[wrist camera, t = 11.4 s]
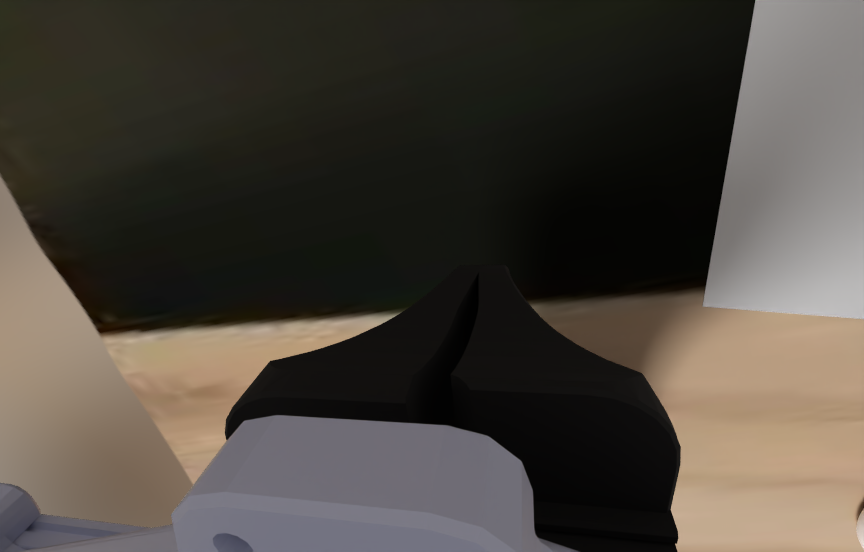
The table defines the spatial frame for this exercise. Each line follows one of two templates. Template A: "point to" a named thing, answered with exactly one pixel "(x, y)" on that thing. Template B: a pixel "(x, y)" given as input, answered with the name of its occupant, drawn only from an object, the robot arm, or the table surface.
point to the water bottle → (860, 528)
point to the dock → (795, 166)
